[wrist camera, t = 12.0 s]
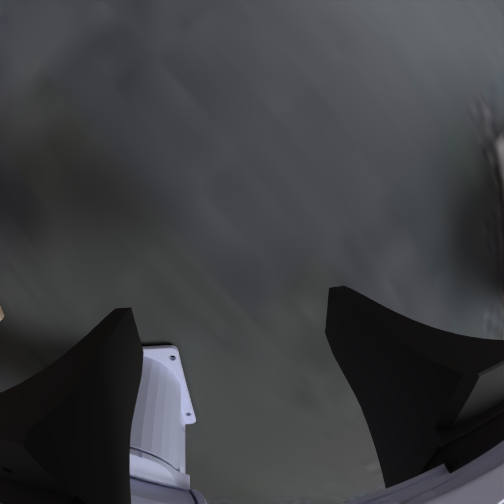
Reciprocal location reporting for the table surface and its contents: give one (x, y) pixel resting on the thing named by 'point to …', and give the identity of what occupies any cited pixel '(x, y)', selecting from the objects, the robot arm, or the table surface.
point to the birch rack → (1, 314)
